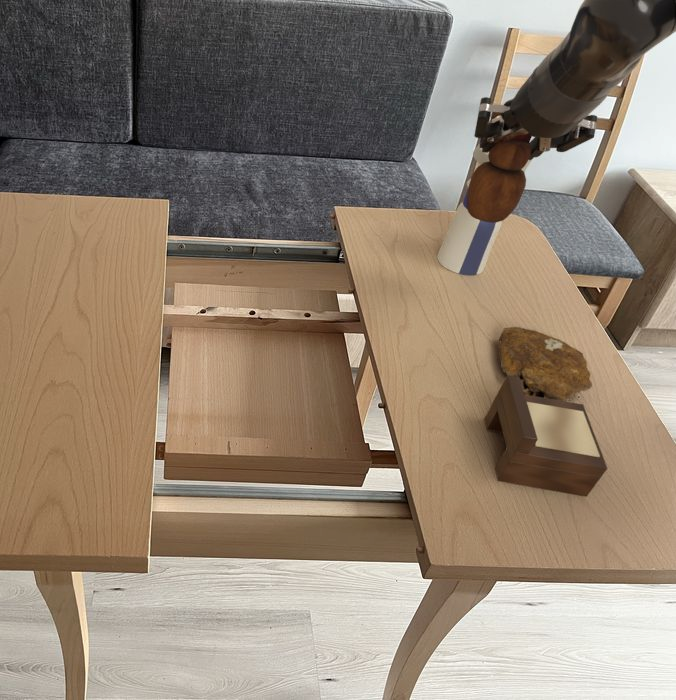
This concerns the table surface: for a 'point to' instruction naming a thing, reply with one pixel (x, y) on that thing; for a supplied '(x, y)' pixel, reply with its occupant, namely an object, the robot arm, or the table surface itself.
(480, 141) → the robot arm
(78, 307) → the table surface
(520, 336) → the decorative rock
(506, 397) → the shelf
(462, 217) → the water bottle
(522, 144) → the wooden figurine
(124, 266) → the table surface
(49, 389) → the table surface
